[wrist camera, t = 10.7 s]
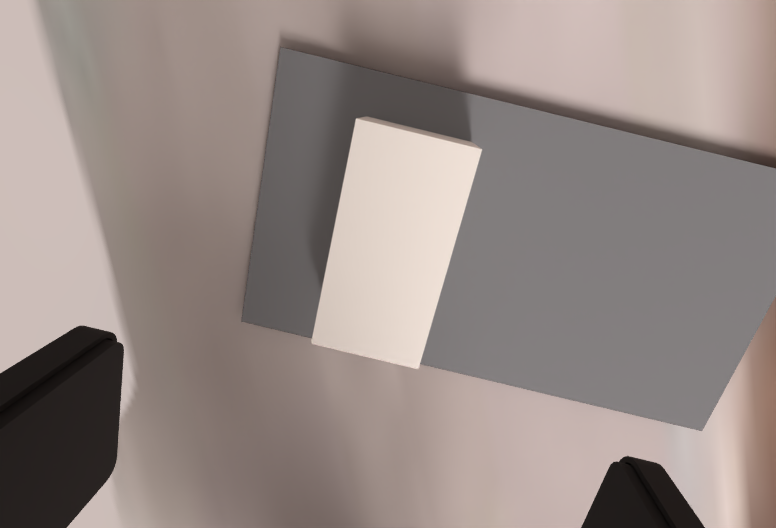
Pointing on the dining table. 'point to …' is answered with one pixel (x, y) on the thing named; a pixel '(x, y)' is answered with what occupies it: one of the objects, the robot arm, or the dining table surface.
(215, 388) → the dining table surface
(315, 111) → the mat
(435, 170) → the white rectangular block
